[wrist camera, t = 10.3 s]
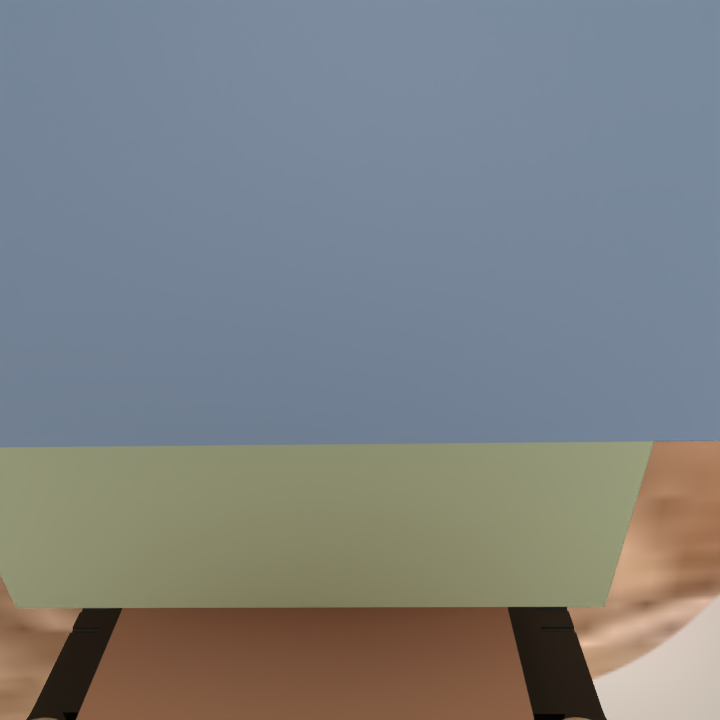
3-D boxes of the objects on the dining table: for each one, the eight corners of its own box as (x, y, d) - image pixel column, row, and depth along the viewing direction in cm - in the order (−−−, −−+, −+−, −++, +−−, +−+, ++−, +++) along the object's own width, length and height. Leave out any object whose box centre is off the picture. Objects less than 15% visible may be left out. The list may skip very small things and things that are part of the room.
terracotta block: (242, 478, 17) (59, 1146, 7) (224, 365, 15) (-70, 1067, 5) (441, 476, 17) (551, 1154, 7) (448, 362, 15) (619, 1077, 5)
